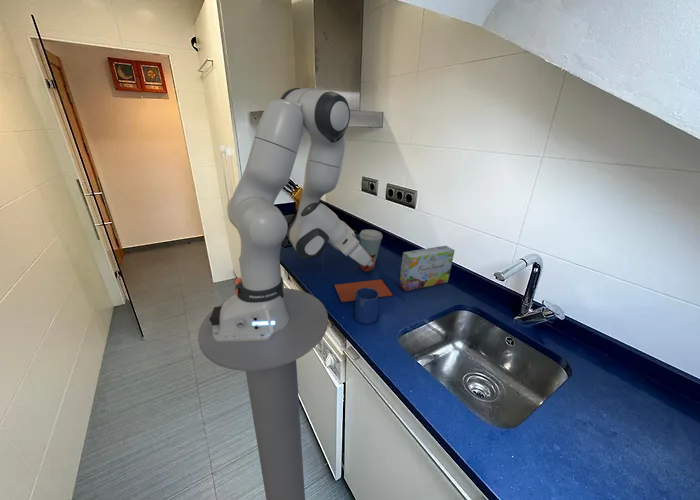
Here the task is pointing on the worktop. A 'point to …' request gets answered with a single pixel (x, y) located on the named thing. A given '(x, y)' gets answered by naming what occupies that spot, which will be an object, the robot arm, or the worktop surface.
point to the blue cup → (366, 305)
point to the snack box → (425, 267)
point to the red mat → (349, 289)
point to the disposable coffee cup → (370, 241)
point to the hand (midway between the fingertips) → (366, 259)
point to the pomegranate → (367, 268)
